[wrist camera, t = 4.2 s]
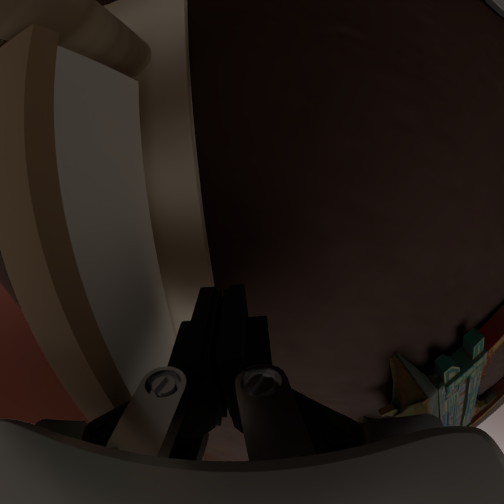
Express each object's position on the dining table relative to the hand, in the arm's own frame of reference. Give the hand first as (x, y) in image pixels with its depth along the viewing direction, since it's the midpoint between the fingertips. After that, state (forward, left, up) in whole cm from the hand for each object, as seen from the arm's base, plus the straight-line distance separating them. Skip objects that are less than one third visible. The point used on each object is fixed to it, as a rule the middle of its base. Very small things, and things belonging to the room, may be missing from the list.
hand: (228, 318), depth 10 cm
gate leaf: (-2, -4, -2) cm, 5 cm away
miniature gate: (+15, +24, -4) cm, 28 cm away
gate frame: (-3, -3, -3) cm, 5 cm away
